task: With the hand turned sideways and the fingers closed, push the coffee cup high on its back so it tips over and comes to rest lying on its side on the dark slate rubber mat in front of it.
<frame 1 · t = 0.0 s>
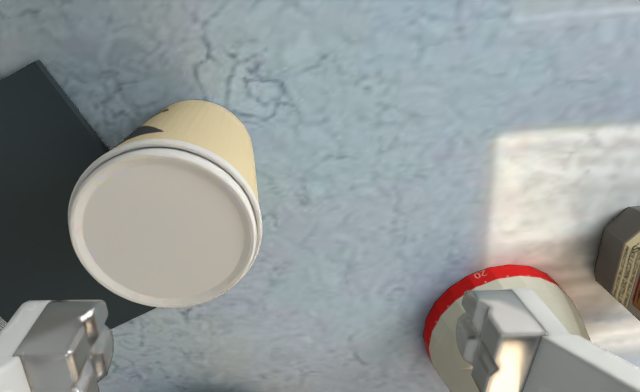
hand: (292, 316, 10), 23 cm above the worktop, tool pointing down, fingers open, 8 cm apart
kitchen timer: (492, 322, 43), on the worktop
slate mat: (45, 229, 34), on the worktop
coffee cup: (200, 150, 32), on the worktop
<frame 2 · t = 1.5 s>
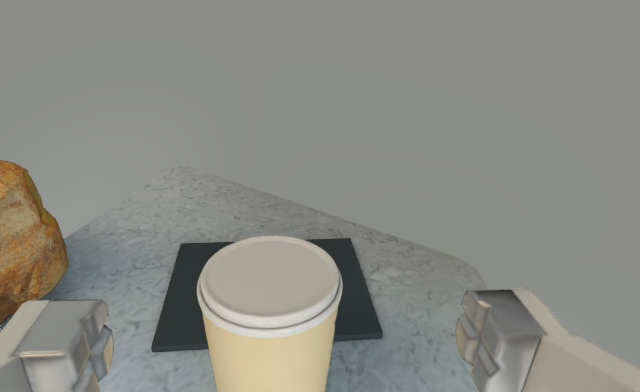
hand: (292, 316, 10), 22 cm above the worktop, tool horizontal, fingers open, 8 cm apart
slate mat: (269, 287, 46), on the worktop
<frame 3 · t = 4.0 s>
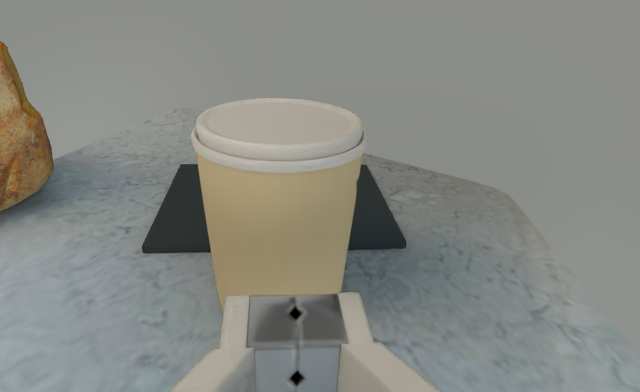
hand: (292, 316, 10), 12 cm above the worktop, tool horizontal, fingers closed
slate mat: (276, 203, 41), on the worktop
coffee cup: (279, 299, 29), on the worktop
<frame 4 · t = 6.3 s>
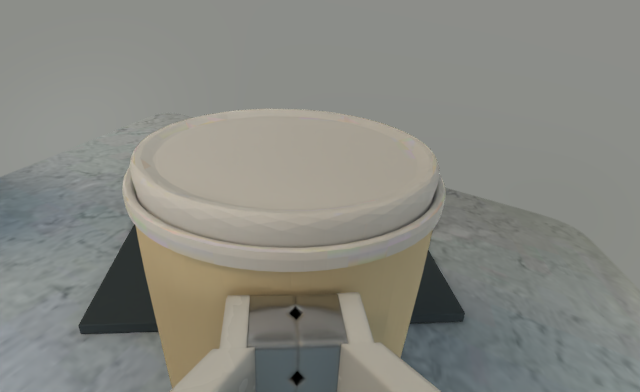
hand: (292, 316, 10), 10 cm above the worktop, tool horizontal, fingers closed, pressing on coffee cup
slate mat: (278, 245, 30), on the worktop
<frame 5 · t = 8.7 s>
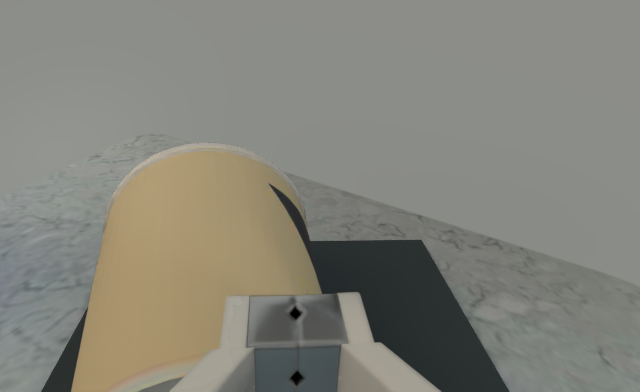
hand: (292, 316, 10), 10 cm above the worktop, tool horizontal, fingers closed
slate mat: (280, 333, 23), on the worktop
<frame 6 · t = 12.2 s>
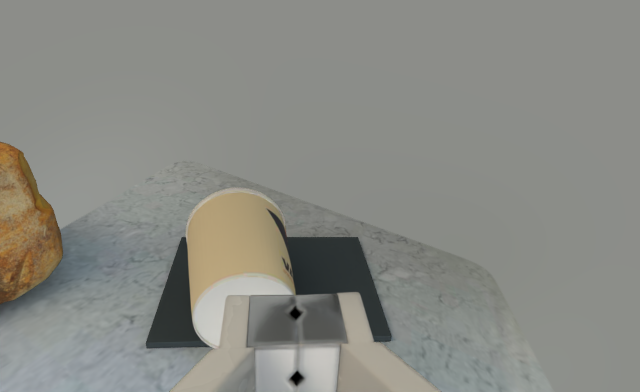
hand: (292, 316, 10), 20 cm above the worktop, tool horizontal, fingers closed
slate mat: (272, 284, 44), on the worktop
coffee cup: (246, 319, 32), point 5 cm above the worktop, touching slate mat
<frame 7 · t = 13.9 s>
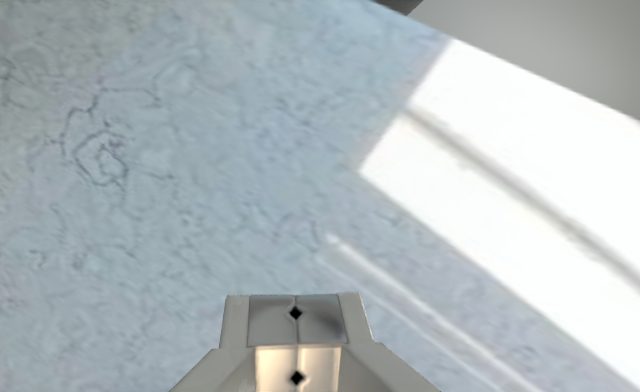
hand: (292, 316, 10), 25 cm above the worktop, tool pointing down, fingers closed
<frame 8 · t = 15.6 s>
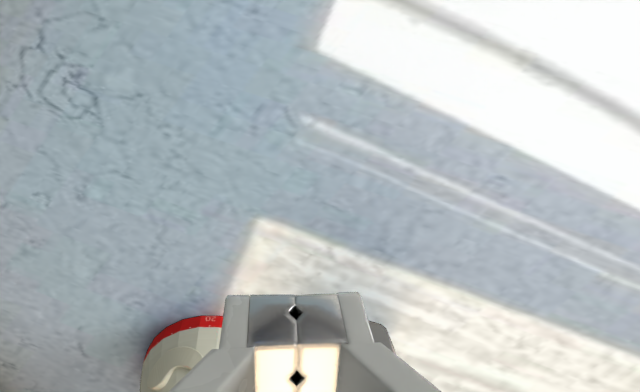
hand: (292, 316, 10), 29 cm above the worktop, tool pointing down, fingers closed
kitchen timer: (210, 362, 49), on the worktop
liquor: (344, 344, 50), on the worktop
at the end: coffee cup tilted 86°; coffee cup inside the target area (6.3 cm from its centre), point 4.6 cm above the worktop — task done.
